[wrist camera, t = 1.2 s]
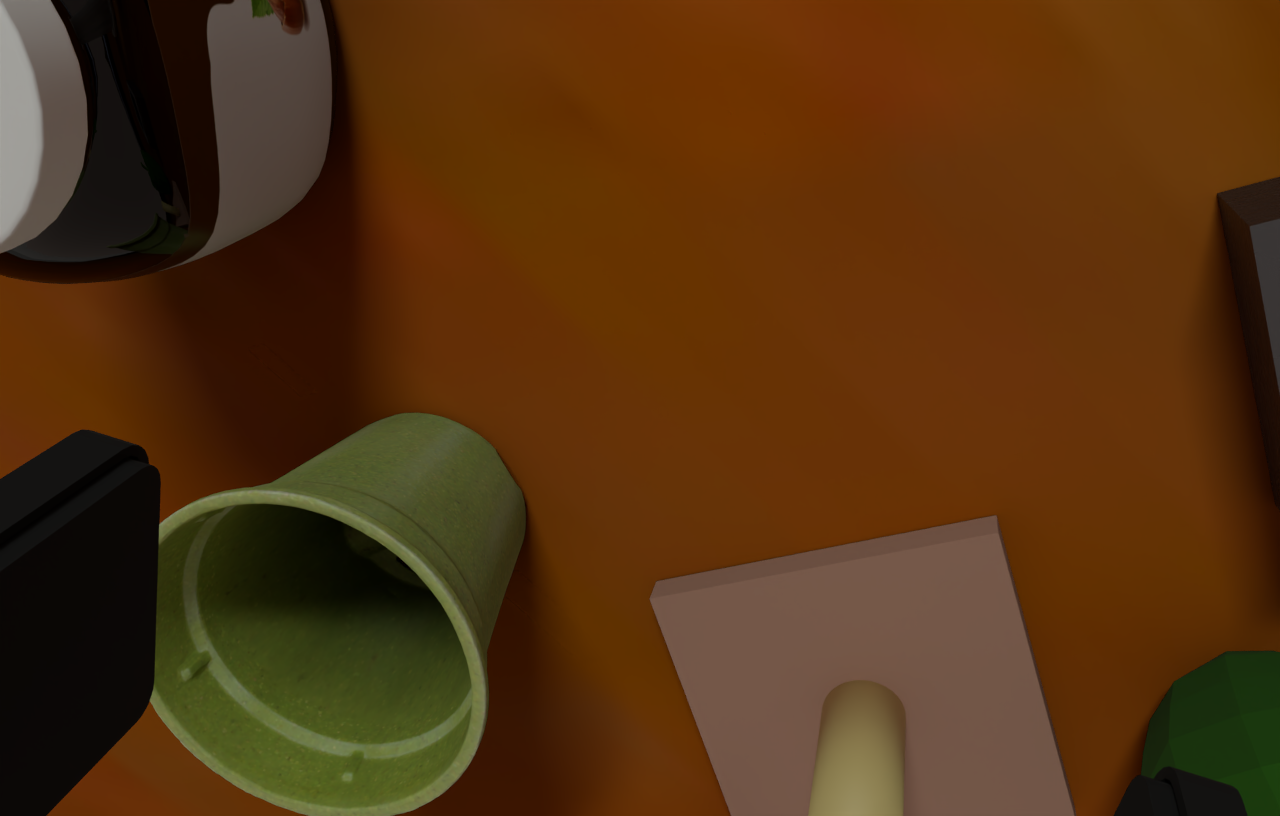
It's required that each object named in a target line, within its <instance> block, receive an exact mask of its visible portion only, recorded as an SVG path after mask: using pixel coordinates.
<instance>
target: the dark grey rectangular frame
mask: <svg viewBox="0 0 1280 816" xmlns="http://www.w3.org/2000/svg"><path fill="white" fill-rule="evenodd" d="M1217 196H1218V202H1219V207H1220V212H1221V218H1222V223H1223V228H1224V234H1225V239H1226V244H1227V249H1228V255H1229V260H1230V265H1231V271H1232V276H1233V281H1234V287H1235V292H1236V297H1237V303H1238V308H1239V313H1240V319H1241V324H1242V329H1243V335H1244V340H1245V345H1246V351H1247V356H1248V361H1249V367H1250V372H1251V377H1252V383H1253V388H1254V393H1255V399H1256V404H1257V409H1258V415H1259V420H1260V425H1261V431H1262V436H1263V441H1264V447H1265V452H1266V457H1267V463H1268V468H1269V473H1270V479H1271V484H1272V489H1273V495H1274V500H1275V504H1276V506H1277V508H1278V509H1279V511H1280V177H1278V178H1274V179H1270V180H1266V181H1262V182H1259V183H1255V184H1251V185H1247V186H1243V187H1240V188H1236V189H1232V190H1228V191H1224V192H1221V193H1217Z"/></svg>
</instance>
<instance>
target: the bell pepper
mask: <svg viewBox="0 0 1280 816" xmlns="http://www.w3.org/2000/svg"><path fill="white" fill-rule="evenodd" d="M1168 766H1170V767H1174V768H1177V769H1180V770H1183V771H1186V772H1190V773H1193V774H1196V775H1199V776H1202V777H1206V778H1209V779H1212V780H1215V781H1219V782H1222V783H1225V784H1228V785H1231V786H1233V787H1235V788H1236V789H1237V790H1238V791H1239V793H1240V795H1241V797H1242V800H1243V803H1244V806H1245V809H1246V812H1247V815H1248V816H1280V652H1276V651H1226V652H1225V653H1223V654H1221V655H1219V656H1218V657H1216V658H1214V659H1212V660H1211V661H1209V662H1207V663H1206V664H1204V665H1202V666H1200V667H1199V668H1197V669H1195V670H1193V671H1192V672H1190V673H1188V674H1186V675H1185V676H1183V677H1181V678H1179V679H1178V680H1176V681H1174V683H1173V684H1172V686H1171V687H1170V689H1169V691H1168V692H1167V694H1166V695H1165V697H1164V699H1163V700H1162V702H1161V703H1160V705H1159V707H1158V708H1157V710H1156V711H1155V713H1154V715H1153V716H1152V718H1151V719H1150V723H1149V727H1148V732H1147V737H1146V742H1145V746H1144V751H1143V759H1142V769H1141V775H1143V776H1146V777H1149V778H1152V779H1154V777H1155V776H1156V774H1157V773H1158V772H1159V771H1160V770H1161V769H1162V768H1163V767H1168Z"/></svg>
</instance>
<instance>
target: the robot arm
mask: <svg viewBox="0 0 1280 816" xmlns="http://www.w3.org/2000/svg"><path fill="white" fill-rule="evenodd" d="M160 486H161V481H160V474H159V471H158V469H157V468H156V467H154V466H153V465H149V461H148V456H147V454H146V452H145V450H144V449H143V448H142V447H140V446H139V445H136V444H133V443H129V442H126V441H123V440H120V439H117V438H113V437H110V436H107V435H104V434H101V433H97V432H94V431H91V430H80V431H78V432H75V433H73V434H71V435H70V436H68V437H66V438H65V439H63V440H62V441H60V442H59V443H57V444H55V445H54V446H52V447H51V448H49V449H47V450H46V451H44V452H43V453H41V454H39V455H38V456H36V457H35V458H33V459H31V460H30V461H28V462H27V463H25V464H23V465H22V466H20V467H19V468H17V469H16V470H14V471H12V472H11V473H9V474H8V475H6V476H4V477H3V478H1V479H0V816H46V815H47V814H48V813H49V812H50V811H51V810H52V809H53V808H54V807H55V806H56V805H57V804H58V803H59V802H60V801H61V800H62V799H63V798H64V797H65V796H66V795H67V794H68V792H69V791H70V790H71V789H72V788H73V787H74V786H75V785H76V784H77V783H78V782H79V781H80V780H81V779H82V778H83V777H84V776H85V775H86V774H87V773H88V772H89V771H90V770H91V769H92V768H93V767H94V766H95V765H96V764H97V763H98V761H99V760H100V759H101V758H102V757H103V756H104V755H105V754H106V753H107V752H108V751H109V750H110V749H111V748H112V747H113V746H114V745H115V744H116V743H117V742H118V741H119V740H120V739H121V738H122V737H123V736H124V735H125V734H126V733H127V732H128V730H129V729H130V728H131V727H132V726H133V725H134V724H135V723H136V722H137V721H138V720H139V718H140V717H141V716H142V714H143V713H144V711H145V709H146V708H147V705H148V703H149V701H150V699H151V696H152V692H153V688H154V678H155V646H156V614H157V582H158V550H159V518H160ZM1114 816H1248V815H1247V812H1246V809H1245V806H1244V803H1243V800H1242V797H1241V795H1240V793H1239V791H1238V790H1237V789H1236V788H1235V787H1233V786H1231V785H1228V784H1225V783H1222V782H1219V781H1215V780H1212V779H1209V778H1206V777H1202V776H1199V775H1196V774H1193V773H1190V772H1186V771H1183V770H1180V769H1177V768H1174V767H1170V766H1168V767H1163V768H1162V769H1161V770H1160V771H1159V772H1158V773H1157V774H1156V776H1155V777H1154V779H1152V778H1149V777H1146V776H1143V775H1138V776H1136V777H1135V778H1134V779H1133V780H1132V782H1131V783H1130V785H1129V786H1128V788H1127V790H1126V792H1125V794H1124V796H1123V798H1122V800H1121V802H1120V804H1119V806H1118V808H1117V810H1116V812H1115V814H1114Z"/></svg>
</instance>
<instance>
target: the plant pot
mask: <svg viewBox="0 0 1280 816" xmlns="http://www.w3.org/2000/svg"><path fill="white" fill-rule="evenodd" d="M525 529H526V508H525V502H524V498H523V494H522V491H521V489H520V488H519V487H518V485H517V484H516V483H515V481H514V480H513V478H512V477H511V475H510V473H509V472H508V470H507V469H506V467H505V465H504V464H503V462H502V460H501V459H500V457H499V455H498V453H497V451H496V449H495V448H494V447H493V446H492V445H491V444H490V443H489V442H488V441H486V440H485V439H484V438H483V437H481V436H480V435H479V434H477V433H476V432H474V431H472V430H471V429H469V428H467V427H465V426H463V425H461V424H459V423H457V422H454V421H452V420H450V419H447V418H444V417H440V416H436V415H431V414H425V413H403V414H397V415H394V416H391V417H388V418H385V419H382V420H379V421H376V422H374V423H372V424H369V425H367V426H366V427H364V428H362V429H361V430H359V431H357V432H356V433H354V434H352V435H350V436H349V437H347V438H345V439H344V440H342V441H340V442H339V443H337V444H336V445H334V446H332V447H331V448H329V449H327V450H326V451H324V452H322V453H321V454H319V455H317V456H316V457H314V458H312V459H311V460H309V461H307V462H306V463H304V464H302V465H301V466H299V467H297V468H296V469H294V470H292V471H291V472H289V473H287V474H286V475H284V476H282V477H280V478H279V479H277V480H275V481H274V482H272V483H269V484H264V485H259V486H255V487H250V488H240V489H233V490H227V491H223V492H219V493H215V494H212V495H209V496H207V497H204V498H201V499H199V500H196V501H194V502H192V503H190V504H188V505H186V506H185V507H183V508H181V509H180V510H178V511H176V512H175V513H173V514H172V515H171V516H169V517H168V518H166V519H165V520H164V521H163V522H162V523H161V524H160V525H159V550H158V582H157V614H156V646H155V678H154V688H153V692H152V696H151V699H150V702H151V703H152V705H153V707H154V709H155V711H156V712H157V714H158V715H159V717H160V718H161V719H162V720H163V722H164V723H165V724H166V726H167V727H168V728H169V729H170V730H171V732H172V733H173V734H174V735H175V736H176V737H177V738H178V739H179V740H180V742H181V743H182V744H183V745H184V746H185V747H186V748H187V749H188V750H189V751H190V752H192V753H193V755H194V756H195V757H197V758H198V759H199V760H201V761H202V762H203V763H204V764H205V765H207V766H208V767H209V768H210V769H212V770H213V771H214V772H215V773H217V774H219V775H221V776H222V777H223V778H225V779H226V780H228V781H229V782H231V783H232V784H234V785H235V786H237V787H239V788H240V789H242V790H244V791H246V792H247V793H250V794H252V795H254V796H255V797H259V798H261V799H263V800H266V801H268V802H270V803H272V804H274V805H277V806H280V807H283V808H286V809H289V810H291V811H294V812H297V813H301V814H305V815H309V816H393V815H396V814H402V813H405V812H409V811H412V810H415V809H417V808H419V807H421V806H423V805H425V804H427V803H429V802H430V801H432V800H434V799H435V798H437V797H439V796H440V795H441V794H443V793H444V792H445V791H447V790H448V789H449V788H450V787H451V786H452V785H453V784H454V783H455V782H456V781H457V780H458V779H459V778H460V777H461V775H462V774H463V773H464V771H465V770H466V769H467V767H468V766H469V764H470V763H471V761H472V759H473V757H474V755H475V753H476V751H477V749H478V746H479V744H480V742H481V739H482V736H483V734H484V730H485V726H486V722H487V716H488V708H489V685H488V674H487V649H488V646H489V643H490V639H491V636H492V633H493V629H494V626H495V623H496V620H497V617H498V614H499V610H500V607H501V604H502V601H503V598H504V595H505V592H506V589H507V586H508V583H509V580H510V578H511V575H512V572H513V569H514V566H515V563H516V561H517V558H518V555H519V552H520V549H521V546H522V543H523V540H524V535H525ZM397 557H399V558H400V559H402V560H403V561H404V562H405V563H406V564H407V565H408V566H409V567H410V568H411V569H412V570H413V571H412V570H410V569H408V568H406V567H405V566H403V565H402V564H401V563H400V562H399V561H398V559H397Z"/></svg>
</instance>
